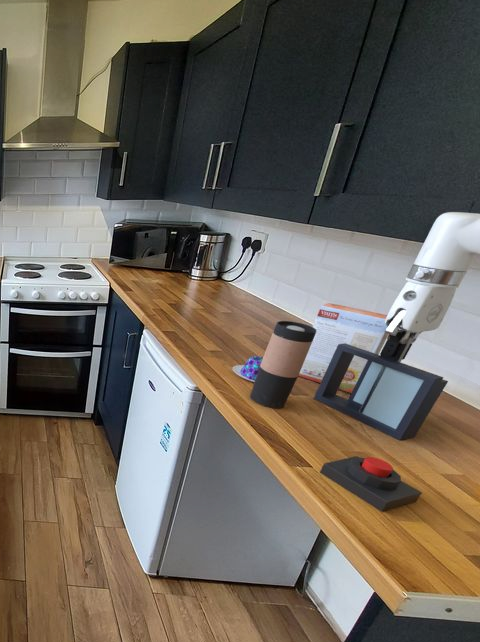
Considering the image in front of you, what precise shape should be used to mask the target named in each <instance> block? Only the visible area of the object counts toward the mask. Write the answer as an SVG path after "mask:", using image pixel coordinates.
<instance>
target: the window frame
mask: <svg viewBox="0 0 480 642" xmlns="http://www.w3.org/2000/svg"><path fill="white" fill-rule="evenodd" d="M354 355H355V356H358V357H361V358H364V359H366V360H369V361H372V362H375V363H377V364H380V365H383V366H382V368H381V370H380V372H379V374H378V376H377V378H376V380H375V382H374V384H373V386H372V387H371V389H370V391H369V393H368V395H367V397H366V399H365V401H364V403H363V405H362V407H361V408H360V407H358V406H356V405H354V404H351V403H349V402H347V401H348V398H345V397H343V396H340V395H338V394H337V393H338V391H339V389H338V388H339V386H340V384H341V382H342V380H343V378H344V376H345V374H346V372H347V370H348V368H349V365H350V363H351V361H352V359H353V357H354ZM448 383H449V381H448V380H446V379H444V376H441V375H438V374H435V373H432V372H429V371H426V370H423V369H421V368H418V367H414V366H412V365H409V364H406V363H404V362H402V361H401V362H398V361H395V360H392V359H389V358H386V357H383V356H381V355H380V354H379V355H378V354H375V353H372V352H369V351H366V350H363V349H360V348H357V347H354V346H352V345H349V344H346V343H345V344H338V346H337V348H336V350H335V353H334V355H333V357H332V359H331V361H330V363H329V366H328V368H327V370H326V372H325V374H324V377H323V379H322V381H321V383H319V385H318V388H317V390H316V392H315V394H314V396H313V400H316V401H317V402H319V403H322V404H324V405H326V406H327V407H330V408H332V409H334V410H336V411H338V412H341V413H343V414H344V415H347V416H348V417H351V418H353V419H355V420H357V421H359V422H360V423H362V424H364V425H367V426H369V427H371V428H373V429H375V430H377V431H379V432H381V433H383V434H385V435H387V436H390V437H391V438H393V439H396V440H398V441H403V440H407V439H412V438H415V437H416V435H417V434H418V432H419V430H420V429H421V428H422V426H423V424H424V422H425V421H426V419H427V417H428V416H429V414H430V412H432V409H433V407H434V406H435V404H436V402H437V401H438V399H439V398H440V396H441V394H442V392H443V391H444V389H445V387H446V386H447V384H448Z"/></svg>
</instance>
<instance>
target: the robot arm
mask: <svg viewBox="0 0 480 642" xmlns="http://www.w3.org/2000/svg"><path fill="white" fill-rule="evenodd" d="M477 255H480V213H475V212H462V211H461V212H459V211H450V212H449V211H448V212H444V213H441V214H440V215H439V216H438V217H437V218H436V219H435V221H434V222H433V224H432V226H431V228H430V230H429V232H428V235H427V237H426V238H425V240H424V242H423V245H422V246H421V249H420V250H419V252H418V254H417V256H416V258H415V260H414V262H413V264H412V266H411V268H410V270H409V272H408V274H407V275H406V278H405V281H407V282H406V283H405V284H404V286H403V287H402V289H401V290H400V292H399V294H397V297H396V298H395V299H394V302H393V304H392V305H391V307H390V308H389V311H388V313H387V314H386V315H387V317H386V320H385V324H386V325H387V326H388V328H387V329H386V330H385V333H388V336H387V338H386V340H385V343H384V345H383V347H382V348H381V351H380V353H379V355H380V356H383V357H386V358H389V359H392V360H395V361H396V360H399V358H400V356H401V355H402V353H403V351H404V349H405V347H406V345H407V344H405V342H406V341H407V339H408V337H411V338H413V340H412V342H411V343H410V345H409V347H408V349H407V351H406V353H405V355H404V356H403V358H402V360H405V358H406V357H407V355H408V353H409V351H410V350H411V348H412V346H413V344H414V343H415V342H416V340H417V339H418V337H419V336H420V334H421V333H424V332H430V331H435V330H437V329H438V328H439V327H440V326H441V324H442V323H443V320H444V318H445V316H446V314H447V312H448V310H449V307H450V306H451V304H452V302H453V299H454V296H455V293H456V291H457V289H458V288H459V287H460V285H461V283H462V281H463V280H464V278H465V276H466V274H467V272H468V270H469V269H470V267H471V265H472V264H473V262H474V260H475V258H476V256H477ZM402 360H401V361H402Z"/></svg>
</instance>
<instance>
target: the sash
mask: <svg viewBox="0 0 480 642" xmlns="http://www.w3.org/2000/svg"><path fill="white" fill-rule="evenodd" d="M412 340H413V338H411V337H408V339H407V341H406V342H405V344H407V345H406V347H405V349H404V351H403V353H402V355H401V356H400V358H399V360H396V361H398V362H401V363H402V358H403V356H404V355H405V353H406V351H407V349H408V347H409V345H410V343H411V342H412ZM382 366H383V365H380V364H377V363H375V362H372V361H369V360H368V361H367V363H366V365H365V367H364V369H363V371H362V373H361V375H360V377H359V379H358V381H357V383H356V385H355V387H354V389H353V391H352V393H350V395H349V397H348V398H347V400H348V401H347V402H349V403H351V404H354V405H356V406H358V407H360V408H361V407H362V405H363V403H364V401H365V399H366V397H367V395H368V393H369V391H370V389H371V387H372V386H373V384H374V382H375V380H376V378H377V376H378V374H379V372H380V370H381V368H382Z"/></svg>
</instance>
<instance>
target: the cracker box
mask: <svg viewBox="0 0 480 642" xmlns="http://www.w3.org/2000/svg"><path fill="white" fill-rule="evenodd" d="M387 315H388V314H384V313H379V312H374V311H370V310H366V309H360V308H355V307H351V306H345V305H341V304H335V303H331V302H328V303H325V304H323V305H321V306H320V308H319V310H318V313H317V316H316V317H315V320H314V323H313V324H312V327H313V328H315V329H316V334H315V337H314V339H313V341H312V344H311V346H310V349H309V351H308V354H307V356H306V358H305V361H304V363H303V366H302V368H301V371H300V373H299V375H298V377H301V378H304V379H306V380H310V381H313V382H316V383H319V384H320V383H321V381H322V379H323V377H324V374H325V372H326V370H327V368H328V366H329V363H330V361H331V359H332V357H333V355H334V353H335V350H336V348H337V346H338V344H345V343H346V344H349V345H352V346H354V347H357V348H360V349H363V350H366V351H369V352H372V353H375V354H378V355H380V353H381V351H382V349H383V347H384V345H385V343H386V341H387V337H388V335H389V334H388V333H385V330H386V329H387V328H388V326H387V325H386V324H385V320H386V317H387ZM367 361H368V360H366V359H364V358H361V357H358V356H355V355H354V357H353V359H352V361H351V363H350V365H349V368H348V370H347V372H346V374H345V376H344V378H343V380H342V382H341V384H340V386H339V388H338V391H339V390H340V391H343V392H345V393H348V394H351V393H352V391H353V389H354V387H355V385H356V383H357V381H358V379H359V377H360V375H361V373H362V371H363V369H364V367H365V365H366V363H367Z"/></svg>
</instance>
